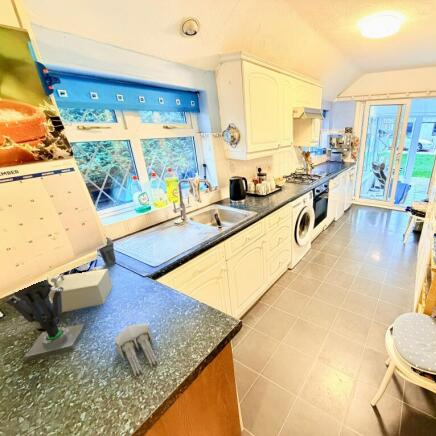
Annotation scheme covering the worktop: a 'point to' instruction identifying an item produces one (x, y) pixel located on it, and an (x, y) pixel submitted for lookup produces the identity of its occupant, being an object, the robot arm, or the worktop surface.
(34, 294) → the robot arm
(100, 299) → the chest
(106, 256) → the beverage cup
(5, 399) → the worktop surface
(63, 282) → the chest lid
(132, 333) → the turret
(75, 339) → the block
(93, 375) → the worktop surface
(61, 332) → the button
